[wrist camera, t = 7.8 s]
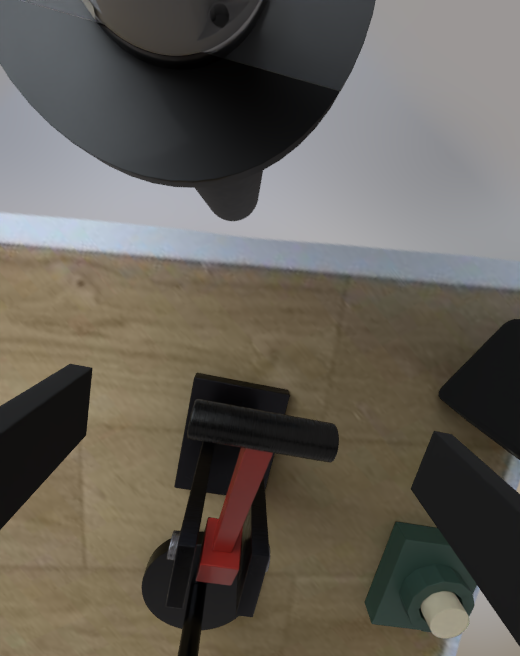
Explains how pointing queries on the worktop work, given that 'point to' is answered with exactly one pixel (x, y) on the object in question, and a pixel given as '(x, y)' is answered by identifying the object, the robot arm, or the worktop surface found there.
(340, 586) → the worktop surface
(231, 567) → the switch lever
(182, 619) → the desk lamp
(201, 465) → the stand
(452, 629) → the timer button
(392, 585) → the timer box
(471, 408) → the electronic device
